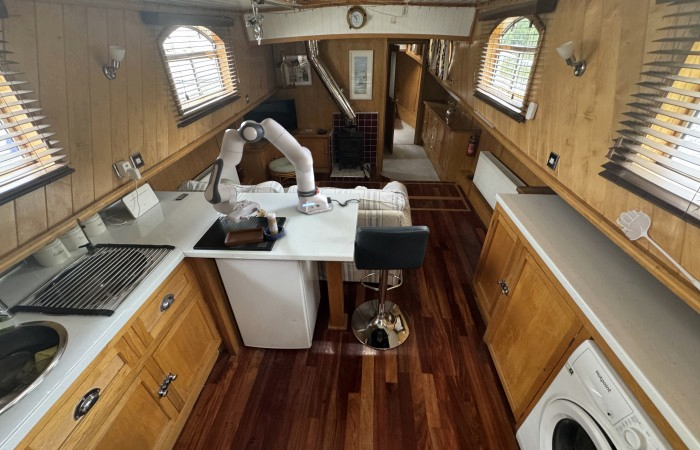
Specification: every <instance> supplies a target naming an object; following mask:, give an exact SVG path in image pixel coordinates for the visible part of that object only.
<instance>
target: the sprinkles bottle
mask: <svg viewBox="0 0 700 450" xmlns="http://www.w3.org/2000/svg"><path fill="white" fill-rule="evenodd" d="M266 218H267V222H268V227H269V228H270V232H269V233H270V235H276V234H278V233H279V230H278V228H277V225H278V223H277V218H276V213H275V212H268V213H267V214H266Z"/></svg>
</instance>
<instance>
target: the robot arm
mask: <svg viewBox="0 0 700 450" xmlns="http://www.w3.org/2000/svg"><path fill="white" fill-rule="evenodd" d="M261 139H266V140H268V142H270V143H271V144H272V145H273V146H274V147H275V148H276V149H277V150H279V151H280V152H281V154H283V155H284V157H285V158H286V159H287V160H288V162H290V163H291V164H292V165H293V166H294V170H295V178H296V187H297V189H296V192H297V193H296V195H297V198H298V203H297V204H298V205H297V211H299V212H300V213H305V214H306V215H313V214H318V213H323V212H328V211H331V210H332V207H333V206H332V202H337V203H338V204H339V205H340V206H342V207H346V206H348V202H351V201H357V202H359V203H362V201H361V200H360V199H357V198H351V199H348V200H346V201H345V204H342V203H341V202H340V201H339V200H337V199H331V197H330V196H326V195H325V194H323V193H322V192H320V190H319V187H318V186H316V184H315V175H314V174H315V173H314V167H313V164H314V160H313V156H312V152H311V151H310V149H309V148H307V147H306V146H301V144H300V143H299V142H298V140H297V139H296V138H295V137H294V136H293V135H292V134H290V133H289V131H287V129H285V128H284V127H283V125H281V124H280V123H278V122H277V121H276V120H274V119H273V118H270V117H268V118H265V119H263V120H261V122H258V121H256V120H254V119H247V120H245V121H243V122H242V123H241V125H240V126H239V127H238V128H237V129H234V128H230V129H226V130H225V132H224V134H223V138H222V140H221V141H222V142H221V148H220V152H219V154H218V157H217V158H216V159H215V160H214V161H213V165H212V168H211V172H210V175H209V179H208V183H207V186H206V188H205V190H204V199H205V200H206V201H207V202H208V203H209V204H210V205H212V208H213V209H214V210H215V212H217V213H219V214H222V215H225V217H224V219H225V220H227V221H229V222H230V223H233V224H238V223H240V222H242V221H249V220H251V218H250V216H252V214H254V213H256V212H257V213H258V214H260V213H262V209H261V205H260V203H259V202H257V201H252V200H248V199H244V200H239V201H237V199H238V190H237V188H236V187H235V186H234V185H233V184H222V185H221V182H222V180H223V175H224V174H225V172H227V171H228V170H229V169H231V168H234V167H236V166H238V165H239V164H240V162H241V161H242V157H243V152H244V145H245V143H248V144H249V143H250V144H253V143H256V142H259V141H260V140H261Z"/></svg>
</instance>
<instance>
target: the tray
mask: <svg viewBox="0 0 700 450" xmlns="http://www.w3.org/2000/svg"><path fill="white" fill-rule="evenodd" d="M265 229H266V228H265V226H261V227H252V228H251V227H250V228H243V229H233V230H228V231H227V234H226V237H225V240H224V245H225V247H231V246H237V245H238V246H239V245H246V244H247V245H248V244H255V243H263V242H264V240H265V236H264V230H265Z"/></svg>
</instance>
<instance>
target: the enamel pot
mask: <svg viewBox="0 0 700 450" xmlns="http://www.w3.org/2000/svg"><path fill="white" fill-rule="evenodd" d="M277 228H278V231H280V232H278V234H276V235H271V234H269V233H270V228H269V226H267V227H266V228H264V229H265V230H264V239H266V240H268V241H277V240H279V239H282V238H283V237H284V236H285V228H284V226H283V225H279V224H277Z"/></svg>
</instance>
